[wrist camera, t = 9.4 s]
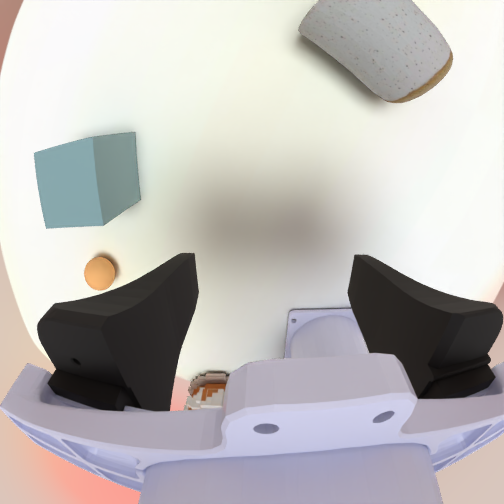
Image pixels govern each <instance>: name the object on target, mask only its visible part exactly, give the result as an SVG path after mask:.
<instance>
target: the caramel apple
mask: <svg viewBox="0 0 504 504" xmlns="http://www.w3.org/2000/svg"><path fill="white" fill-rule="evenodd" d="M228 378H229V376H226V374H209V373H206V376H198V377H197V379H194V382H191V384H190V386H191V387H189V389H188V391H189V393H190V395H191V396H188V397H187V401H186V405H185V406H184V410H197V409H209V408H218V407H223V403H224V395H225V387H226V384H227V381H228Z"/></svg>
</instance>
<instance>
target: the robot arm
mask: <svg viewBox="0 0 504 504" xmlns="http://www.w3.org/2000/svg"><path fill="white" fill-rule="evenodd" d="M198 294H199V289H198V281H197V272H196V263H195V254H194V253H180V254H178V255H176V256H175V257H173V258H171V259H170V260H168V261H167V262H165V263H163V264H162V265H160V266H159V267H157V268H156V269H154V270H152V271H151V272H149V273H147V274H145V275H144V276H142V277H140V278H138V279H136V280H134V281H132V282H130V283H128V284H126V285H124V286H122V287H119V288H117V289H114V290H111V291H108V292H105V293H103V294H99V295H96V296H92V297H88V298H84V299H80V300H75V301H68V302H62V303H55V304H54V305H53V306H52V307H51V308H50V309H49V310H48V311H47V312H46V314H45V315H44V316H43V317H42V318H41V319H40V321H39V322H38V325H37V331H38V336H39V339H40V341H41V344H42V346H43V347H44V349H45V351H46V353H47V354H48V356H49V358H50V359H51V361H52V363H53V364H54V366H55V368H56V370H55V372H54V374H53V375H52V374H51V373H50V372H49V371H47V370H45V369H43V368H40V367H38V366H35V365H33V364H30V363H27V365H26V366H25V368H24V369H23V370H22V372H21V373H20V375H19V376H18V378H17V379H16V381H15V382H14V384H13V385H12V387H11V389H10V390H9V392H8V393H7V395H6V397H5V398H4V400H3V401H2V403H1V405H0V409H1V410H2V411H3V412H4V413H5V414H6V415H7V417H8V418H9V419H10V420H11V421H12V422H13V423H14V424H15V425H16V426H17V427H19V429H20V430H21V431H22V432H23V433H25V434H26V435H27V436H28V437H29V438H30V439H31V440H32V441H33V442H34V443H36V444H37V445H39V446H41V447H42V448H44V449H46V450H48V451H49V452H51V453H53V454H55V455H57V456H59V457H61V458H62V459H64V460H66V461H69V462H70V463H72V464H74V465H76V466H78V467H80V468H82V469H84V470H87V471H89V472H91V473H93V474H95V475H98V476H100V477H102V478H104V479H107V480H109V481H112V482H114V483H117V484H119V485H122V486H125V487H128V488H131V489H133V490H136V491H139V492H141V494H140V499H139V503H138V504H443V501H442V497H441V493H440V489H439V486H438V482H437V479H436V475H435V473H436V472H438V471H440V470H442V469H444V468H446V467H448V466H450V465H452V464H454V463H456V462H457V461H459V460H461V459H463V458H464V457H466V456H468V455H470V454H472V453H473V452H475V451H476V450H478V449H480V448H482V447H483V446H485V445H487V444H488V443H490V442H491V441H493V440H494V439H496V438H498V437H499V436H501V435H502V434H503V433H504V362H502V363H500V364H498V365H496V366H494V367H493V368H492V369H490V367H489V366H488V364H489V363H490V361H491V358H490V357H489V355H488V352H489V350H490V349H491V347H492V345H493V343H494V342H495V340H496V338H497V336H498V334H499V332H500V330H501V327H502V324H503V314H502V312H501V311H500V310H499V309H498V307H497V306H496V305H495V304H493V303H488V302H481V301H474V300H469V299H465V298H460V297H457V296H453V295H450V294H447V293H444V292H441V291H438V290H435V289H433V288H430V287H428V286H426V285H423V284H421V283H419V282H417V281H415V280H413V279H411V278H409V277H407V276H405V275H403V274H402V273H400V272H398V271H396V270H395V269H393V268H391V267H389V266H388V265H386V264H384V263H383V262H381V261H379V260H377V259H375V258H373V257H371V256H369V255H354V261H353V267H352V272H351V278H350V283H349V288H348V297H349V301H350V305H351V308H352V309H324V310H292V311H290V313H289V317H288V327H287V337H286V346H285V355H284V359H267V360H261V361H255V362H249V363H247V364H245V365H243V366H242V367H240V368H239V369H237V370H235V371H234V372H232V373H230V376H229V378H228V381H227V384H226V387H225V395H224V403H223V407H218V408H209V409H197V410H183V411H170V405H171V398H172V390H173V385H174V378H175V374H176V369H177V364H178V359H179V355H180V351H181V348H182V345H183V342H184V339H185V336H186V334H187V331H188V328H189V325H190V323H191V320H192V317H193V314H194V312H195V308H196V304H197V299H198ZM292 319H296V320H292ZM363 337H364V340H365V342H366V345H367V347H366V345H365V342H364V340H363ZM367 348H368V350H369V352H368V350H367Z"/></svg>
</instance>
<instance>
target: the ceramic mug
mask: <svg viewBox="0 0 504 504" xmlns="http://www.w3.org/2000/svg"><path fill="white" fill-rule="evenodd" d="M298 31H299V32H300V34H302V35H303V36H305V37H306V38H308V39H309V40H311V41H312V42H313V43H315V44H316V45H318V46H319V47H320V48H321V49H323V50H324V51H325V52H327V53H328V54H329V55H331V56H332V57H333V58H334V59H336V60H337V61H338V62H340V63H341V64H342V65H343V66H344V67H346V68H347V69H348V70H349V71H350V72H352V73H353V74H354V75H355V76H356V77H357V78H358V79H359V80H360V81H361V82H362V83H363V84H365V85H366V86H367V87H368V88H369V89H370V90H371V91H372V92H374V93H375V94H377V95H378V96H379V97H381V98H382V99H384V100H385V101H387V102H391V103H403V102H407V101H410V100H413V99H415V98H417V97H419V96H421V95H423V94H424V93H426V92H427V91H429V90H430V89H432V88H433V87H434V86H436V85H437V84H438V83H439V82H440V81H441V80H442V79H443V78H444V77H445V76H446V74H447V73H448V71H449V70H450V68H451V65H452V61H453V55H452V51H451V49H450V47H449V45H448V43H447V42H446V40H445V39H444V37H443V36H442V34H441V33H440V31H439V30H438V28H437V27H436V26H435V25H434V24H433V23H432V22H431V20H430V19H429V18H428V17H427V16H426V15H425V14H424V13H423V12H422V11H421V10H420V9H419V8H418V7H417V6H416V5H415V3H414V2H413V1H412V0H319V1H318V2H317V3H316V4H315V5H314V6H313V7H312V8H311V10H310V11H309V12H308V13H307V15H306V16H305V18H304V19H303V20H302V22H301V24H300V26H299V29H298Z"/></svg>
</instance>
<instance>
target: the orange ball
mask: <svg viewBox="0 0 504 504" xmlns="http://www.w3.org/2000/svg"><path fill="white" fill-rule="evenodd" d="M84 276H85V280H86V282H87V284H88V285H89V286H90V287H91V288H93V289H95V290H105V289H107V288H109V287H110V286H111V285H112V283H113V281H114V278H115V270H114V267H113V265H112V263H111V262H110V261H109V260H107V259H105V258H102V257H96V258H93V259H91V260H90V261H89V262H88V263H87V265H86V267H85V271H84Z"/></svg>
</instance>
